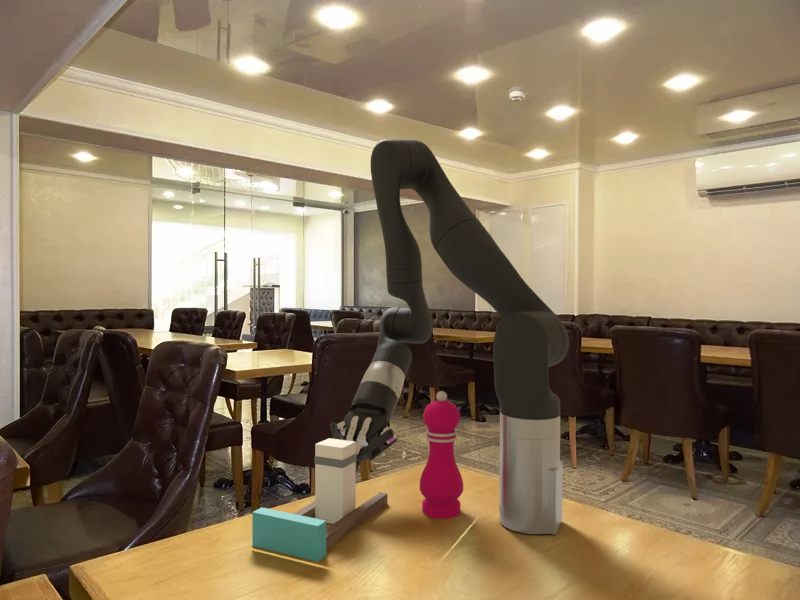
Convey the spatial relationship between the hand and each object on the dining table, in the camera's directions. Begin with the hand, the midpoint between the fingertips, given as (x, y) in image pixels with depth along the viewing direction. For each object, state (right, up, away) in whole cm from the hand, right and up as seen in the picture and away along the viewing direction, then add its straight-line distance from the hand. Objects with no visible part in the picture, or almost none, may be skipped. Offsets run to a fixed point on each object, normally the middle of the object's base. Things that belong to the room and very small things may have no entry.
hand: (344, 478), depth 91 cm
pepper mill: (+16, -6, +1) cm, 17 cm away
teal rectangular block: (-6, -6, -13) cm, 16 cm away
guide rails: (-2, -6, -4) cm, 7 cm away
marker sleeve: (-1, -6, -2) cm, 6 cm away
